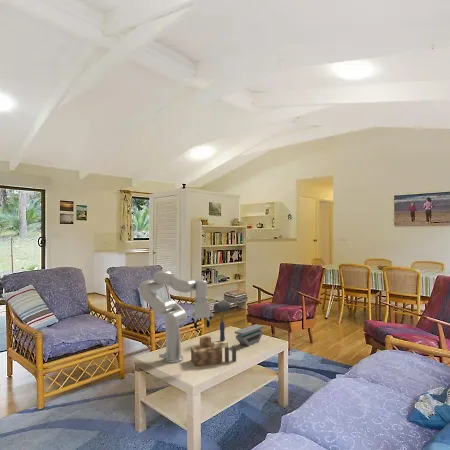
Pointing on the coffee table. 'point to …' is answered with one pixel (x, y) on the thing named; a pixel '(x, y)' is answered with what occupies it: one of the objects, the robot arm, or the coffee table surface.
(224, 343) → the pale wooden bar
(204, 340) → the lid
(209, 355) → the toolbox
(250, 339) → the sharpening stone
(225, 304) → the rubber mallet
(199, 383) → the coffee table surface
